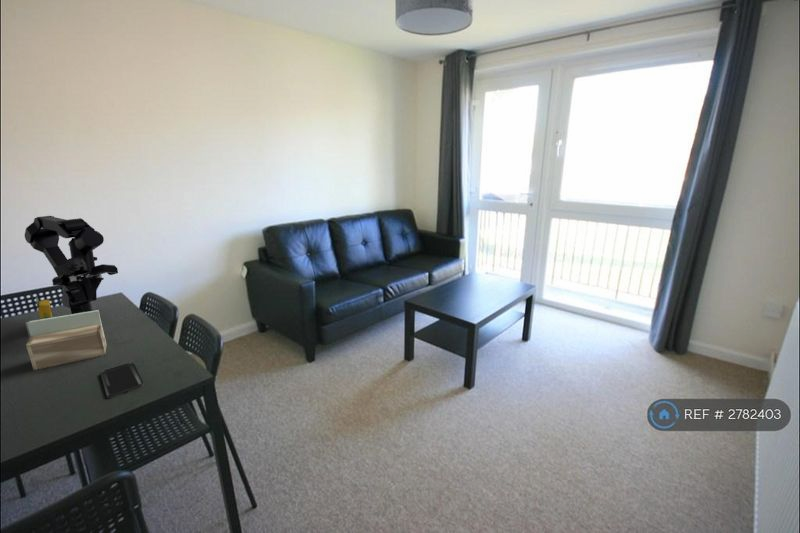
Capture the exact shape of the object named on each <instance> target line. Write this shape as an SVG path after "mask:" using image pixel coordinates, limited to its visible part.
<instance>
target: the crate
mask: <svg viewBox="0 0 800 533" xmlns="http://www.w3.org/2000/svg"><path fill="white" fill-rule="evenodd" d="M102 327H103V324H102V325H101V324H97V325H92V326H86V327H81V328H76V329H70V330H65V331H59V332H54V333H48V334H43V335H38V336H32V337H30V338H29V339H28V340H27V343H26V345H25V347H26V350H27V353H28V356H29V360H30V362H31V366H32V369H33V371H34V370H35V371H39V370H43V368H44V369H48V368H53V367H56V366H61V365H62V366H63V365H66V364H70V363H74V362H75V363H76V362H79V361H84V360H88V359H93V358H97V357H101V356H106V353H107V341H106V342H105V340H106V337H105V338H104V336H105V333H104V334H103V332H104V329H103V330H102ZM47 367H48V368H47ZM38 369H39V370H38Z"/></svg>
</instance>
